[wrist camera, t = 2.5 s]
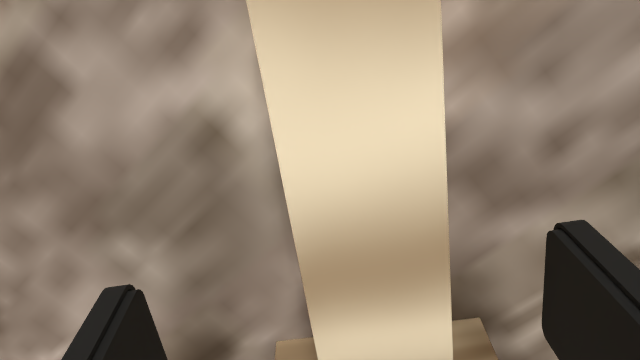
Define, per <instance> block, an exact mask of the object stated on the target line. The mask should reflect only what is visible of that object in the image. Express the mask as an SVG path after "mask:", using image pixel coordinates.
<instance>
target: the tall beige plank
mask: <svg viewBox="0 0 640 360" xmlns="http://www.w3.org/2000/svg"><path fill="white" fill-rule="evenodd" d="M246 2H247V7H248V12H249V17H250V22H251V27H252V32H253V37H254V42H255V47H256V52H257V57H258V62H259V67H260V72H261V77H262V82H263V87H264V92H265V97H266V102H267V107H268V112H269V117H270V122H271V127H272V132H273V137H274V142H275V147H276V152H277V157H278V162H279V167H280V172H281V177H282V182H283V187H284V192H285V197H286V202H287V207H288V212H289V217H290V222H291V227H292V232H293V237H294V242H295V247H296V252H297V257H298V262H299V267H300V272H301V277H302V282H303V287H304V292H305V297H306V302H307V307H308V312H309V317H310V322H311V327H312V332H313V337H311V338H302V339H294V340H286V341H277V342H276V351H275V360H498V358H497V356H496V354H495V351H494V349H493V347H492V345H491V342H490V340H489V338H488V336H487V333H486V331H485V329H484V326H483V324H482V322H481V320H480V318H471V319H463V320H455V321H452V314H451V285H450V256H449V226H448V197H447V168H446V139H445V110H444V80H443V51H442V22H441V0H246Z"/></svg>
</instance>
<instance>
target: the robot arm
mask: <svg viewBox="0 0 640 360" xmlns="http://www.w3.org/2000/svg"><path fill="white" fill-rule="evenodd" d="M542 329H543V333H544V336H545V338H546V340H547V342H548V343H549V345H550V346H551V348H552V349H553V351H554V353H555V354H556V356H557V357H558V359H559V360H640V270H639V269H638V268H637V267H636V266H635V265H634V264H633V263H632V262H630V261H629V260H628V259H627V258H626V257H625V256H624V255H623V254H622V253H621V252H620V251H618V250H617V249H616V248H615V247H614V246H613V245H612V244H611V243H610V242H609V241H607V240H606V239H605V238H604V237H603V236H602V235H601V234H600V233H599V232H598V231H597V230H595V229H594V228H593V227H592V226H591V225H590V224H589V223H588V222H586V221H585V220H577V221H570V222H563V223H557V224H556V225H555V227H554V230H552V231H549V232H548V233H547V239H546V257H545V275H544V293H543V311H542ZM62 360H167V357H166V354H165V351H164V349H163V346H162V343H161V340H160V338H159V335H158V332H157V329H156V327H155V324H154V321H153V318H152V316H151V313H150V310H149V307H148V305H147V302H146V299H145V296H144V294H143V292H142V291H141V290H139V289H138V290H135V288H134V287H133V285H130V284H129V285H122V286H115V287H108V288H105V289H104V290H103V291H102V293H101V294H100V296H99V298H98V299H97V301H96V303H95V304H94V306H93V308H92V309H91V311H90V313H89V314H88V316H87V318H86V319H85V321H84V323H83V324H82V326H81V328H80V329H79V331H78V333H77V334H76V336H75V338H74V339H73V341H72V343H71V344H70V346H69V348H68V349H67V351H66V353H65V354H64V356H63V358H62Z"/></svg>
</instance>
